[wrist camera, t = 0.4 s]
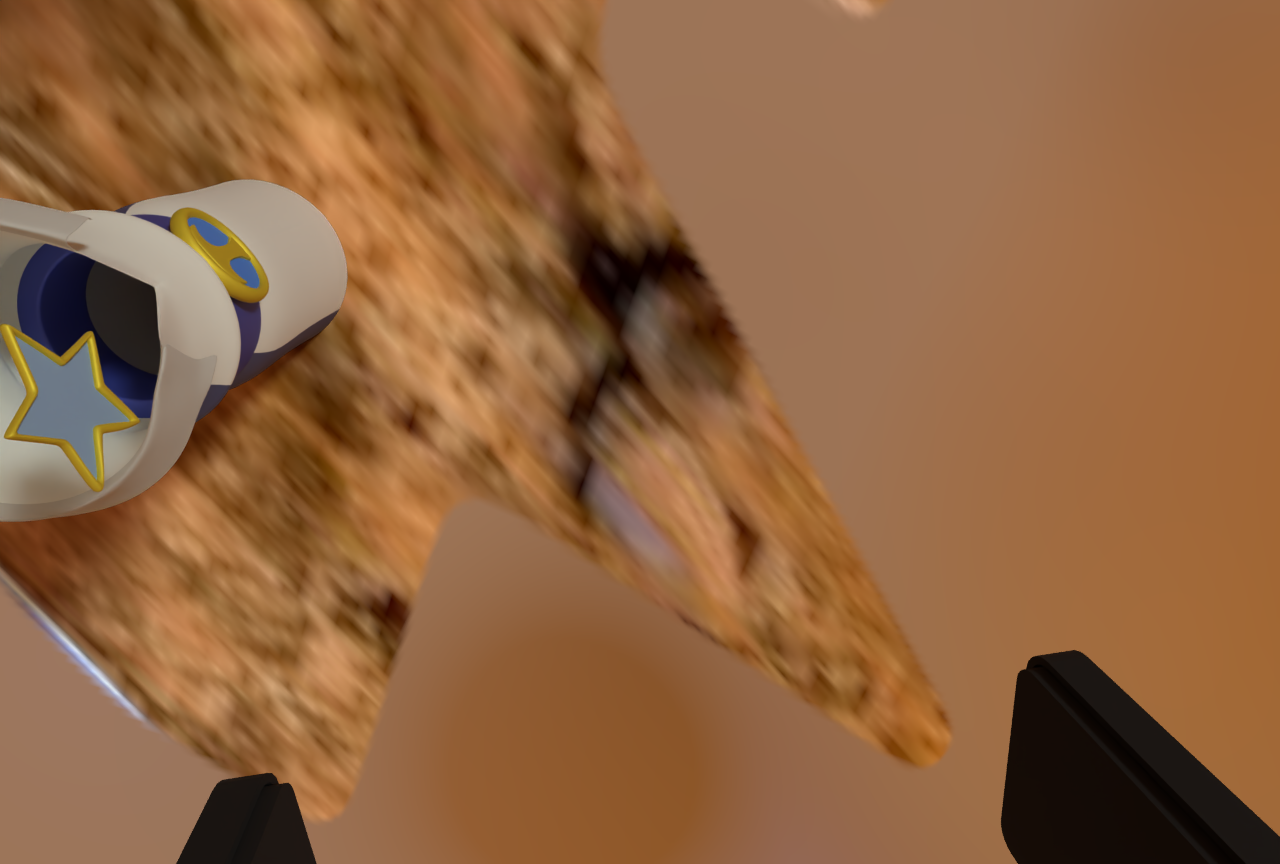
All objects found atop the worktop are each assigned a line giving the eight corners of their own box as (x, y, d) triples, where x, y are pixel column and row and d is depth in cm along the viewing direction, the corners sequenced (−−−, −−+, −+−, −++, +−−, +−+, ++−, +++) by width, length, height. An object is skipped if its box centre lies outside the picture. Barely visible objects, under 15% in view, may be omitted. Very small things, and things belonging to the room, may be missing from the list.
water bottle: (257, 123, 34) (-337, 77, 11) (391, 282, 37) (149, 511, 14) (118, 237, 35) (-710, 420, 12) (260, 383, 38) (-176, 760, 15)
